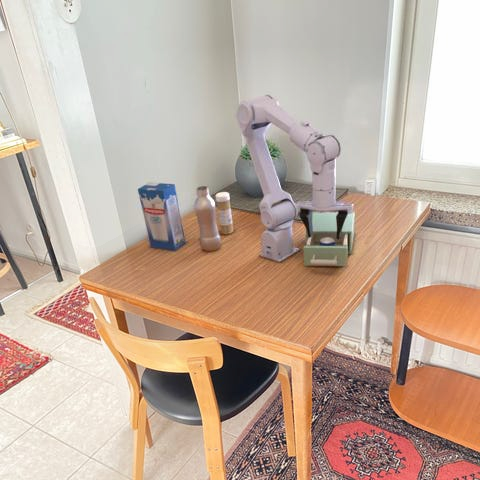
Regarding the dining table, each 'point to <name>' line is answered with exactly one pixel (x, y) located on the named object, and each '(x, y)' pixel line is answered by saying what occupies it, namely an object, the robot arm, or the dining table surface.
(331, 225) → the cabinet
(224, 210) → the sprinkles bottle
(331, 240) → the can
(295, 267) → the dining table surface
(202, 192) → the plastic bottle
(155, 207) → the milk carton
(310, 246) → the drawer
